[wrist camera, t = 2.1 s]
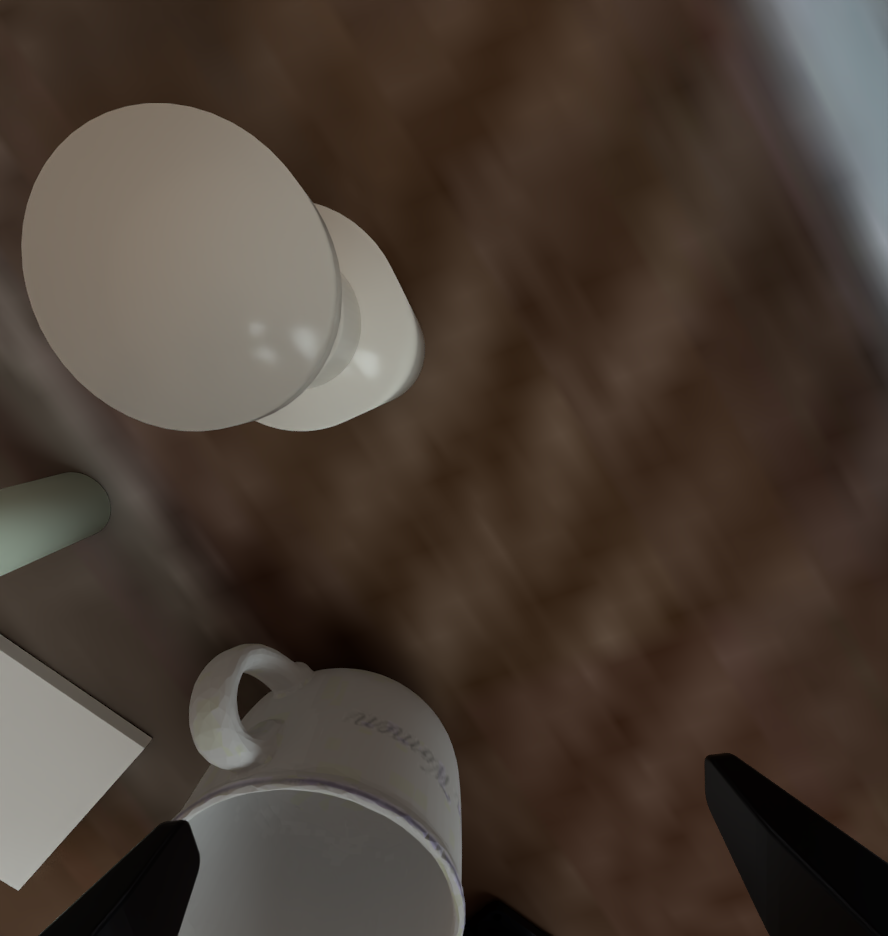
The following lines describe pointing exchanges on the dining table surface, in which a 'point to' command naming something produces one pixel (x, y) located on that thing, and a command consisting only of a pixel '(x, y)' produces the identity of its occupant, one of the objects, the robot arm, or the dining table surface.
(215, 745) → the teacup
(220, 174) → the vase
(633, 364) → the dining table surface
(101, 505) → the post
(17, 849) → the mat
